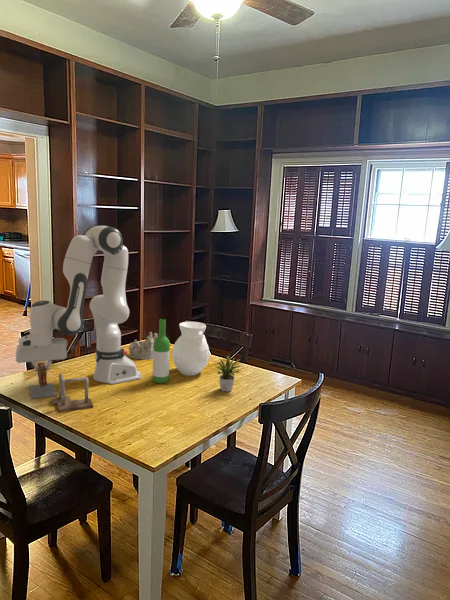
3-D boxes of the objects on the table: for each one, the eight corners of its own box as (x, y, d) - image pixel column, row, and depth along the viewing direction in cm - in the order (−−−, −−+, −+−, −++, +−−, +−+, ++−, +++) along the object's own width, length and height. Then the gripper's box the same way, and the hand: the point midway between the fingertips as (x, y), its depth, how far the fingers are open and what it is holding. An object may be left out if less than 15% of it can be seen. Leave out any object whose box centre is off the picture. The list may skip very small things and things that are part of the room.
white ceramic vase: (215, 375, 226) (217, 327, 222) (183, 381, 216) (185, 330, 211) (196, 364, 241) (198, 318, 237) (165, 369, 231) (167, 321, 226)
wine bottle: (171, 380, 216) (174, 319, 211) (163, 385, 209) (165, 322, 204) (158, 376, 219) (159, 317, 214) (149, 381, 212) (150, 320, 207)
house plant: (225, 399, 197) (228, 364, 194) (203, 390, 206) (205, 356, 203) (246, 391, 208) (249, 357, 204) (224, 382, 217) (226, 350, 214)
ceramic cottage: (164, 353, 257) (163, 327, 254) (149, 362, 242) (148, 335, 239) (141, 350, 262) (139, 325, 259) (125, 359, 247) (123, 332, 244)
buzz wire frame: (87, 396, 192) (87, 369, 190) (93, 407, 182) (93, 379, 179) (51, 400, 186) (51, 373, 183) (55, 412, 175) (54, 383, 173)
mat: (53, 384, 203) (53, 383, 203) (56, 396, 191) (56, 394, 191) (28, 386, 198) (28, 385, 198) (31, 399, 186) (31, 397, 186)
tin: (38, 378, 200) (35, 360, 198) (45, 377, 201) (43, 359, 199) (41, 390, 187) (38, 371, 185) (49, 388, 188) (46, 369, 186)
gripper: (66, 335, 198) (66, 365, 200) (14, 338, 188) (15, 370, 191) (68, 339, 192) (68, 370, 195) (15, 342, 183) (16, 375, 185)
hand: (41, 370), depth 193 cm, fingers closed on tin, 3 cm apart
